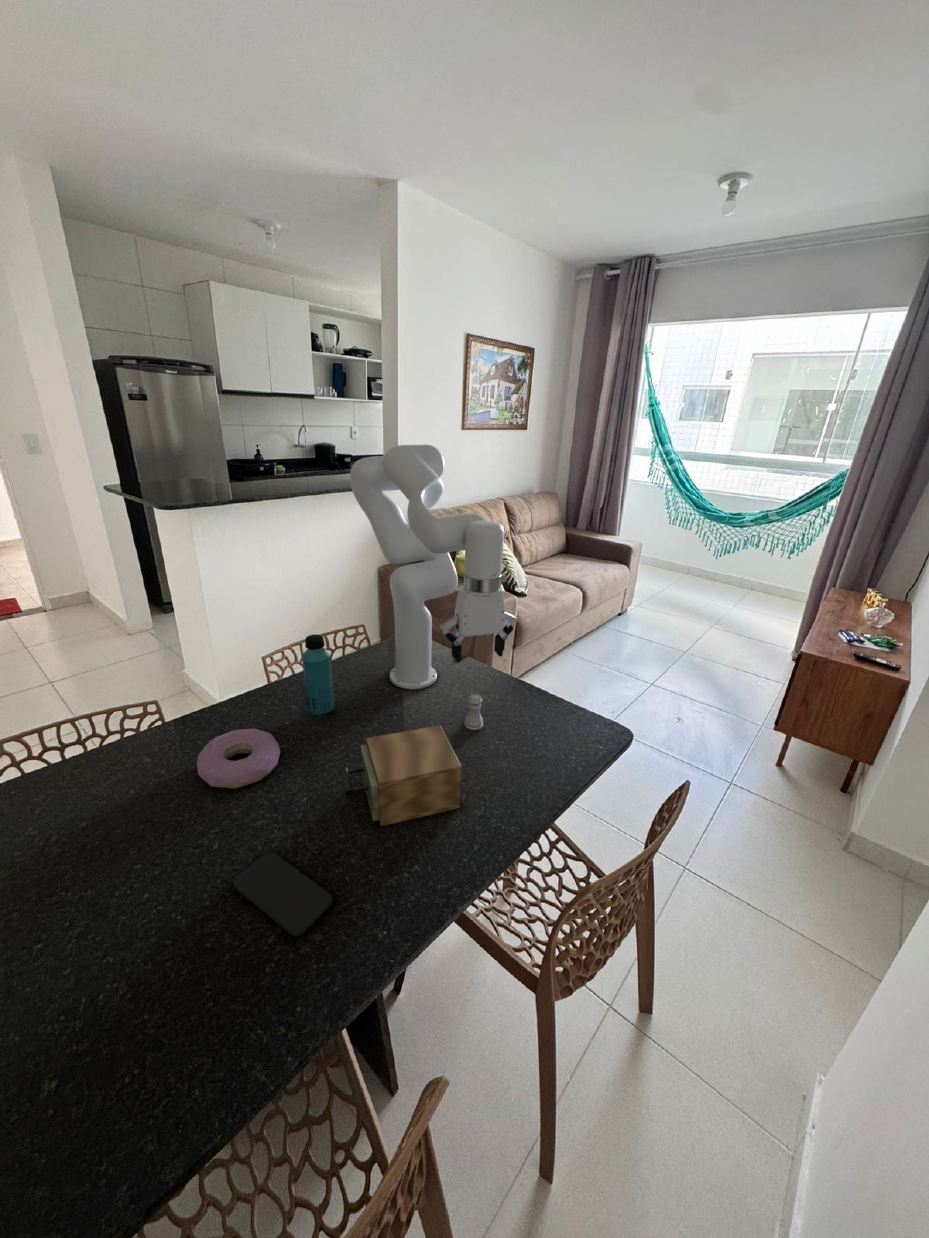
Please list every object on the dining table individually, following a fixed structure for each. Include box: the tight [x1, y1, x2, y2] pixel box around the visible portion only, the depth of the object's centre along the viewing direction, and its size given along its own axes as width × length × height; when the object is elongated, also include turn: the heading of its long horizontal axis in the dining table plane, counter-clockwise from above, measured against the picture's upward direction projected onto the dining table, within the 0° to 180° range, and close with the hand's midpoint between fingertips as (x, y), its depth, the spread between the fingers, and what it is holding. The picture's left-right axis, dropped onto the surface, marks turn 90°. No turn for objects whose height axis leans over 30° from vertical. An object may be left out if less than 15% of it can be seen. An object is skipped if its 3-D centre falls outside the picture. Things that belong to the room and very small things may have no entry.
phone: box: [232, 851, 333, 937], centre depth 77 cm, size 7×1×15 cm
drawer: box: [340, 743, 380, 822], centre depth 95 cm, size 18×12×8 cm, turn 110°
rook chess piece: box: [463, 692, 484, 732], centre depth 117 cm, size 4×4×8 cm
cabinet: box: [365, 724, 462, 827], centre depth 96 cm, size 15×13×10 cm
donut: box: [196, 728, 281, 790], centre depth 102 cm, size 16×15×5 cm
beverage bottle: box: [301, 634, 336, 716], centre depth 117 cm, size 6×7×20 cm
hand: (477, 656), depth 111 cm, fingers open, 9 cm apart
